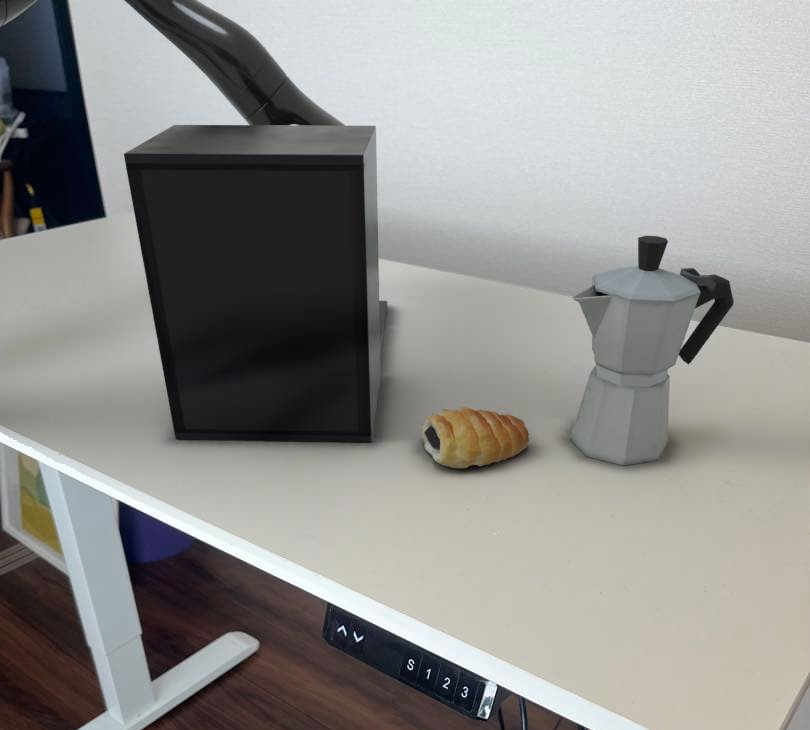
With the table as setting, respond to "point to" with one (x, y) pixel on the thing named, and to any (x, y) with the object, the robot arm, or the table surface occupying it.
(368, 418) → the black open cabinet
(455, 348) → the table surface
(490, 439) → the pastry
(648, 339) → the coffee maker
